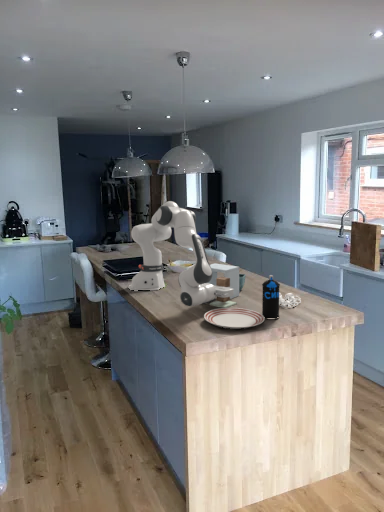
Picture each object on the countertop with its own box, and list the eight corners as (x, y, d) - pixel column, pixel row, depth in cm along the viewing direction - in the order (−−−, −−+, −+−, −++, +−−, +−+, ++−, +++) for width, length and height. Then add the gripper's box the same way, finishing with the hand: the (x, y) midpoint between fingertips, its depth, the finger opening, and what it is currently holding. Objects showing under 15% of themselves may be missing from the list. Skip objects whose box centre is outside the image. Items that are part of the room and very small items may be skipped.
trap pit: (205, 304, 227) (205, 302, 227) (192, 301, 233) (192, 299, 233) (216, 300, 233) (216, 298, 233) (203, 297, 239) (203, 295, 239)
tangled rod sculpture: (303, 312, 216) (304, 304, 215) (273, 309, 217) (274, 301, 216) (298, 300, 235) (299, 292, 234) (271, 297, 236) (272, 290, 235)
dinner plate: (266, 315, 208) (266, 308, 207) (262, 335, 181) (262, 327, 181) (210, 312, 214) (209, 305, 213) (198, 331, 187) (198, 323, 187)
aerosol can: (259, 314, 208) (260, 274, 204) (276, 314, 208) (277, 273, 205) (264, 320, 200) (264, 277, 196) (281, 319, 200) (282, 277, 197)
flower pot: (245, 288, 257) (245, 274, 256) (242, 292, 249) (242, 277, 248) (231, 287, 260) (231, 273, 259) (227, 291, 252) (227, 276, 250)
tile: (225, 308, 219) (225, 306, 219) (209, 304, 226) (209, 303, 225) (236, 303, 226) (236, 302, 226) (221, 300, 233) (221, 299, 233)
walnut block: (224, 302, 222) (224, 279, 220) (216, 300, 225) (216, 278, 223) (229, 300, 226) (229, 277, 224) (222, 298, 229) (222, 276, 227)
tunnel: (226, 300, 233) (226, 270, 231) (202, 295, 245) (201, 266, 242) (239, 295, 242) (239, 266, 239) (215, 291, 253) (215, 263, 250)
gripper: (223, 289, 208) (240, 284, 218) (191, 283, 221) (209, 278, 231) (223, 302, 209) (240, 296, 219) (192, 295, 222) (209, 289, 232)
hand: (224, 287), depth 225 cm, fingers closed on walnut block, 5 cm apart
